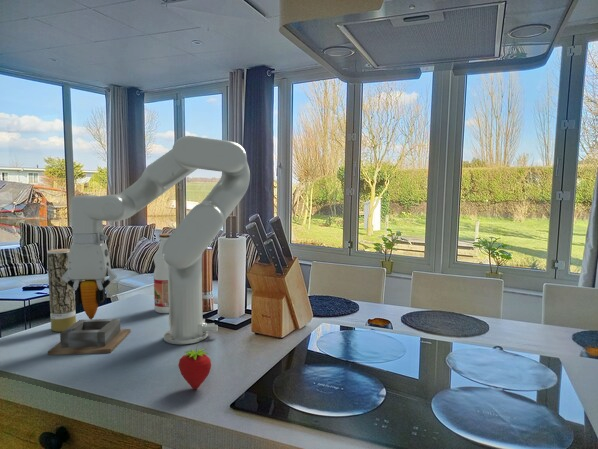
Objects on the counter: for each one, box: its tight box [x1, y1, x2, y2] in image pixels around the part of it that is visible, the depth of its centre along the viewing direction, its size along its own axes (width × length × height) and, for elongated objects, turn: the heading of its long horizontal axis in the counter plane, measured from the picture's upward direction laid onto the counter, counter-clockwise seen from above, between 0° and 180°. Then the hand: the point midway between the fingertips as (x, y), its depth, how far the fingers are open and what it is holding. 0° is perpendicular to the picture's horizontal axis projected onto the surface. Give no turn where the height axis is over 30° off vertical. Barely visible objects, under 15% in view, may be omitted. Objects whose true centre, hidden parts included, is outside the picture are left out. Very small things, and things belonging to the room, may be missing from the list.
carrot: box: [80, 280, 99, 320], centre depth 113 cm, size 5×5×15 cm
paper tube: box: [46, 248, 77, 333], centre depth 125 cm, size 7×7×25 cm
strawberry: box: [177, 342, 212, 390], centre depth 87 cm, size 6×8×10 cm
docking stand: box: [47, 318, 131, 356], centre depth 114 cm, size 16×16×5 cm
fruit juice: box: [153, 232, 172, 314], centre depth 145 cm, size 9×9×28 cm
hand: (90, 302), depth 113 cm, fingers closed on carrot, 4 cm apart
